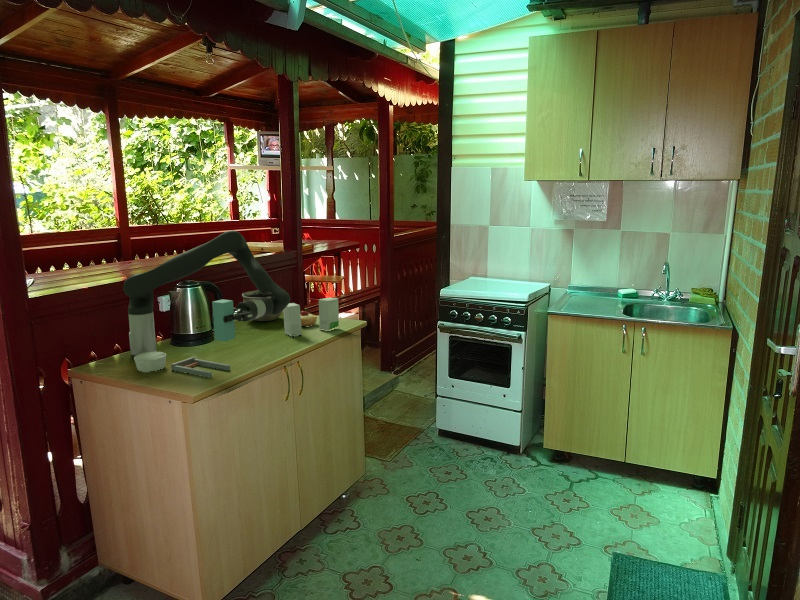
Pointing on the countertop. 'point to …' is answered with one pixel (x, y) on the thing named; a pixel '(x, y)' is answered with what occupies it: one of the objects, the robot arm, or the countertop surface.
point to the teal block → (221, 328)
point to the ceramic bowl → (258, 295)
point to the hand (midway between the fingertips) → (218, 318)
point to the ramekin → (150, 361)
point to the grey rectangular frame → (190, 362)
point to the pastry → (307, 318)
